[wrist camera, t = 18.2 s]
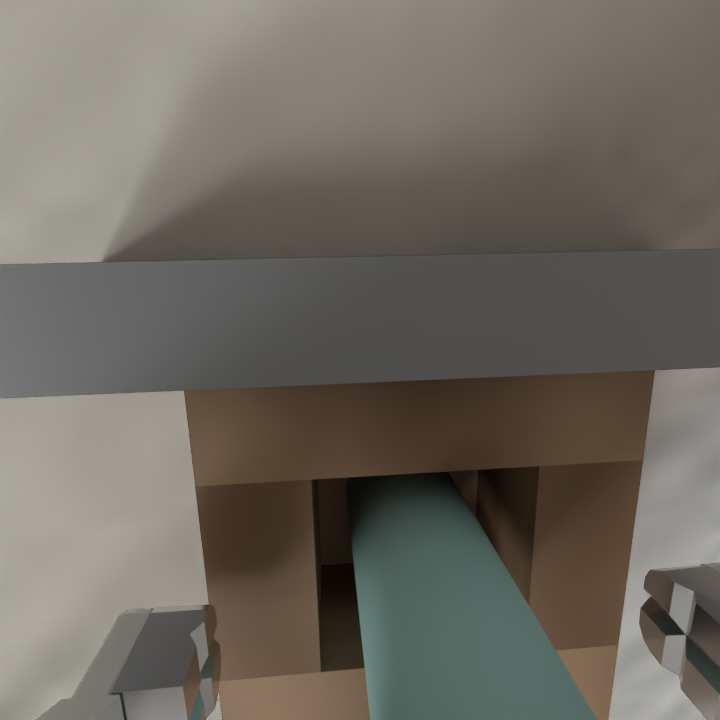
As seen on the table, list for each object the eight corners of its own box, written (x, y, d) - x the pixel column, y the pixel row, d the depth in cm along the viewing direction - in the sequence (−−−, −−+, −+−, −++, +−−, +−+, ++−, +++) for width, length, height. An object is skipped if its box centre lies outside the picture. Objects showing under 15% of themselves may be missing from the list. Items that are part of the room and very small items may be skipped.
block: (258, 596, 15) (227, 760, 10) (235, 331, 13) (182, 375, 8) (519, 576, 15) (608, 720, 11) (537, 320, 13) (656, 355, 9)
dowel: (347, 541, 13) (387, 972, 5) (344, 445, 12) (385, 770, 4) (449, 534, 13) (636, 935, 5) (451, 439, 12) (668, 738, 5)
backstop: (110, 334, 13) (-75, 401, 7) (99, 262, 12) (-110, 267, 6) (645, 316, 14) (883, 360, 8) (653, 250, 13) (913, 244, 7)
